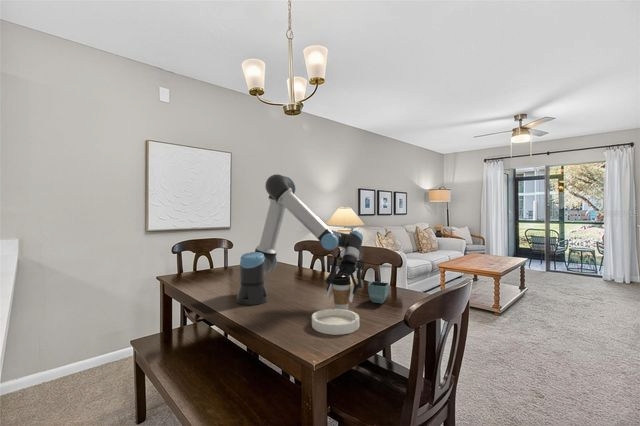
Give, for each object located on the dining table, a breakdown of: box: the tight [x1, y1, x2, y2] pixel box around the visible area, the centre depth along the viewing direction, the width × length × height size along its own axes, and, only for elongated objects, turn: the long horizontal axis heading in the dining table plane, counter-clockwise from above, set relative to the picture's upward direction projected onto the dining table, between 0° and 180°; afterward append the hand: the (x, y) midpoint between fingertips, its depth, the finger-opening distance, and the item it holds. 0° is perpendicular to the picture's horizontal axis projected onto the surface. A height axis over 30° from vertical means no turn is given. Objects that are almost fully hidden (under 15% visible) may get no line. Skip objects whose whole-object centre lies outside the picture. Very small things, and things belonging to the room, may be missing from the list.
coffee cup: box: [332, 276, 352, 310], centre depth 139 cm, size 8×8×15 cm
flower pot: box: [367, 281, 390, 305], centre depth 152 cm, size 9×9×9 cm
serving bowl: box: [311, 308, 361, 336], centre depth 122 cm, size 18×18×4 cm
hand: (339, 299), depth 136 cm, fingers open, 10 cm apart
